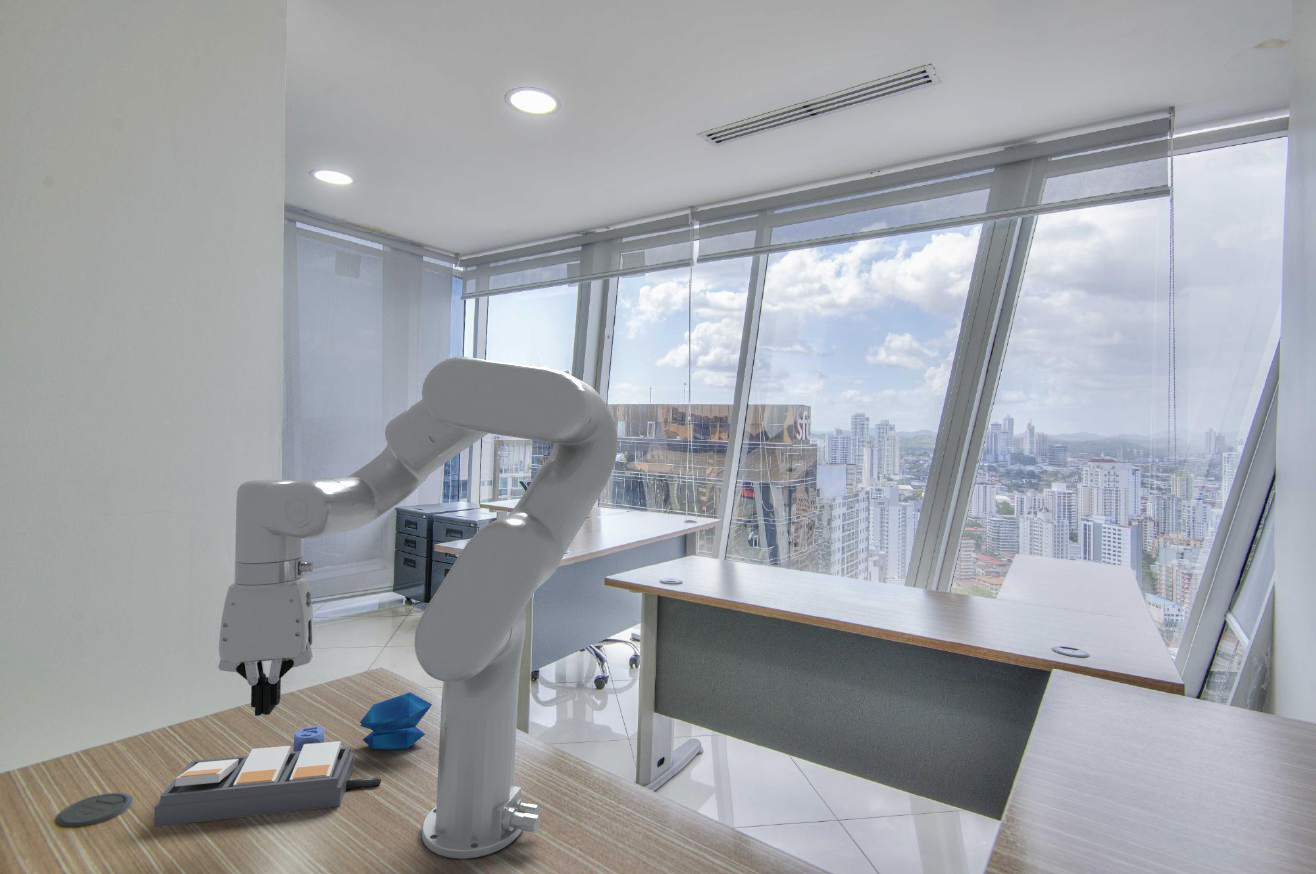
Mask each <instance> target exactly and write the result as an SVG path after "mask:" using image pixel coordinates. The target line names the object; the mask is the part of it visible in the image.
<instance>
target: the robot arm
mask: <svg viewBox="0 0 1316 874" xmlns="http://www.w3.org/2000/svg"><path fill="white" fill-rule="evenodd" d="M421 389H422V390H421V398H422V399H420V400H419V401H417V402H416V403H414V404H413V405H411V406H410V407H408V408H407V409H406V410H404V411H403V412H401V413H400V414H399V415H397V416H395V417H394V418H392V419H391V420H390V421H389V422H387V425H386V426H385V429H384V435H385V441H386V446H385V448H384V449H383V450H382V451H381V452H380V453H379V454H378V455H377V456H376V457H375V458H373V459H372V460H370V461H369V462H368V463H366V464H365V465H364V466H362V467H361V468H359V469H358V470H356V471H355V472H354V473H351V474H350V475H348V476H346V477H345V476H344V477H334V478H333V477H330V478H322V479H321V478H320V479H310V480H302V481H295V480H291V479H290V480H289V479H256V480H255V479H254V480H248V481H245V482H242V483H241V484H240V485H239V486H238V489H237V491H236V501H235V502H236V503H235V504H236V508H235V509H236V510H235V512H236V513H235V518H236V519H235V547H234V551H235V552H234V582H233V583H231V584H230V585H229V586H228V589H227V591H226V596H225V601H224V604H223V605H224V606H223V610H222V616H221V620H220V621H221V622H220V623H221V624H220V628H219V629H220V630H219V631H220V632H219V643H218V644H219V645H218V655H219V659H220V660H219V663H218V666H217V667H218V670H219V671H221V672H230V673H231V672H232V673H237V674H239V675H240V676H241V677H242V678H243V679H245V680H246V681H247V684H248V685H249V686H251V687H250V689H251V692H250V697H251V698H250V707H251V708H254V716H255V717H259V716H261V715H264V716H269V715H271V713H272V712H273V710H275V708H276V706H278V705H279V704H280V701H281V692H282V691H281V689H282V688H281V687H282V685H281V681H282V680H281V679H282V677H283V676H285V675H286V674H287V673H288V672H289V671H290V670H291V669H294V668H297V667H301V666H304V665H307V664H309V663H311V661H312V659H313V658H314V657H313V655H314V654H313V652H312V647H311V646H312V644H313V642H314V617H313V616H314V613H313V603H312V602H313V601H312V593H311V588H310V583H309V580H308V578H307V577H305V578H304V577H302V576H303V575H304V574H307V573H312V572H313V571H314V563H313V561H309V562H308V561H305V559H304V556H302V554H303V553H302V552H303V550H302V548H303V546H302V545H303V539H305V540H306V539H307V540H309V539H320V538H324V537H329V536H332V535H336V534H339V533H345V532H348V531H353V530H357V529H360V528H363V527H366V526H367V525H369V524H371V523H372V522H375V520H377V519H379V518H380V517H382V516H383V515H384V514H386V513H387V512H389V511H390V510H392V509H393V508H395V507H396V506H398V505H399V504H401V503H402V502H403V501H404V500H406V499H407V498H408V497H410V496H411V495H412V494H413V493H414V492H415V491H416V490H417V489H418V488H419V487H420V486H421V485H422V484H424V482H425V481H426V480H427V479H428V477H429V476H430V475H431V474H432V473H433V472H435V471H436V470H437V469H439V468H441V467H442V466H444V464H446V463H448V462H449V461H450V460H452V459H454V458H455V457H456V456H458V455H459V454H460V453H462V452H463V451H466V450H467V449H469V448H470V447H471V446H472V445H473V444H475V443H476V442H478V441H480V440H481V439H483V438H484V437H485V436H487V435H488V434H492V435H497V436H505V437H511V438H512V437H513V438H518V439H523V440H530V441H536V442H543V443H550V444H553V445H552V446H553V447H552V449H551V452H550V454H549V456H548V457H547V458H546V460H545V462H543V464H542V465H541V466H540V468H539V469H538V470H537V472H536V474H534V477H532V480H531V482H530V483H529V486H528V487H527V488H526V490H525V491H524V493H523V495H521V497H520V499H519V501H518V502H517V504H516V505H515V506H514V507H513V509H512V510H511V511H510V512H509V513H508V514H507V515H505V516H503V517H501V518H498V519H496V520H492V521H491V522H489V523H487V524H485V525H484V526H483V527H481V528H480V529H479V530H478V531H477V532H476V533H475V534H474V535H473V536H472V538H471V539H470V540H468V542H467V543H466V544H465V546H464V547H463V548H462V550H461V552H460V553H459V555H458V556H457V558H456V560H455V562H454V563H453V565H452V567H451V568H450V570H449V571H448V572H447V574H446V575H445V577H444V579H443V580H442V582H441V584H440V585H439V586H438V589H437V590H436V592H435V593H434V594H433V597H432V598H431V599H430V600H429V602H428V604H427V605H426V607H425V609H424V611H423V613H422V615H421V616H420V618H419V619H418V622H417V626H416V629H415V632H414V644H413V645H414V650H415V651H414V652H415V656H416V659H417V661H418V664H419V665H420V667H421V669H423V671H424V672H425V674H427V675H428V676H430V677H431V678H433V679H435V680H438V681H441V682H442V691H441V707H440V722H439V723H440V727H439V745H438V746H439V748H438V766H437V767H438V769H437V784H436V785H437V786H436V787H437V789H436V806H435V807H433V808H432V809H431V810H430V811H429V812H428V814H427V815H426V816H425V818H424V820H423V822H422V826H421V827H422V828H421V838H422V842H423V843H424V845H425V847H427V849H429V850H430V851H431V852H433V853H435V854H436V855H439V856H442V857H445V858H451V859H473V858H480V857H484V856H488V855H491V854H493V853H496V852H498V851H500V850H502V849H505V848H506V847H507V846H509V845H510V844H511V843H512V842H514V841H515V839H517V838H518V837H519V836H520V834H521V833H522V831H524V832H529V833H534V834H537V833H538V831H539V828H540V826H541V821H542V820H541V815H540V814H539V811H540V805H539V804H537V803H532V802H530V803H528V802H524V800H523V799H521V798H522V797H521V796H522V795H521V794H522V787H521V786H516V785H515V770H516V769H515V768H516V765H515V764H516V748H517V746H516V744H517V743H516V742H517V726H518V725H517V724H518V706H519V691H520V690H519V688H520V673H521V665H522V664H521V662H522V657H523V656H522V655H523V649H524V642H525V635H526V629H527V627H526V626H527V625H526V624H527V613H526V612H527V611H526V606H527V604H528V603H529V602H530V599H531V598H532V597H533V595H534V593H535V592H536V591H537V590H538V588H539V587H541V586H542V585H543V584H544V583H545V582H547V581H548V580H549V579H550V578H551V577H552V576H553V575H554V574H555V573H556V572H557V569H558V567H559V566H560V564H561V562H562V560H563V558H564V556H565V554H566V552H567V551H568V549H569V547H570V545H571V544H572V543H573V541H574V539H575V537H576V536H577V535H578V533H579V531H580V529H581V528H582V527H583V525H584V523H585V522H586V520H587V517H588V516H589V515H590V513H591V511H592V510H593V508H594V506H595V504H596V503H597V501H598V499H599V497H600V496H601V495H602V492H603V490H604V489H605V487H606V486H607V483H608V481H609V479H610V477H611V475H612V472H613V470H614V467H615V463H616V459H617V454H618V430H617V427H616V423H615V420H614V418H613V415H612V413H611V411H610V409H609V407H608V406H607V404H606V402H605V400H604V399H603V398H602V396H601V395H600V394H599V393H598V392H597V390H595V389H594V388H593V387H592V386H591V385H589V384H587V383H586V382H585V381H583V380H581V379H579V378H577V377H575V376H573V375H572V374H569V373H567V372H564V371H560V370H557V369H552V368H544V367H539V366H538V367H537V366H530V365H522V364H518V363H517V364H516V363H509V362H508V363H507V362H500V361H492V360H488V359H487V360H486V359H481V358H475V357H470V356H455V357H450V358H447V359H445V360H442V361H441V362H439V363H437V364H436V365H434V366H433V367H432V369H431V370H430V371H429V372H428V374H427V375H426V377H425V378H424V382H423V383H422V388H421ZM267 661H270V662H271V663H270V667H269V673H268V676H267V674H266V671H265V665H264V662H267Z"/></svg>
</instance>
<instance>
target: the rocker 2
mask: <svg viewBox="0 0 1316 874" xmlns="http://www.w3.org/2000/svg"><path fill="white" fill-rule="evenodd" d="M340 748H342V740H341V741H340V740H339V741H337V740H336V741H326V742H325V741H324V743H313V744H304V745H303V748H302V750H301V753H300V755H299V758H298V760H297V763H296V765H295V767H294V770H293V772H292V775H291V777H290V780H289V781H298V780H308V779H318V778H328V777H331V776H332V773H333V770H334V767H335V764H336V761H337V758H338V754H339V751H340Z"/></svg>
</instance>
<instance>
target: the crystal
mask: <svg viewBox="0 0 1316 874" xmlns="http://www.w3.org/2000/svg"><path fill="white" fill-rule="evenodd" d="M432 706H433V704H432V703H431V702H429V701H428V700H426V699H424V698H423V697H420V696H418V695H417V694H415V693H413V692H412V691H410V692H406V693H404V694H400V695H398V696H395V697H392V698H388V699H386V700H383V701H380V702H377V703H374V704H373V705H372V706H371V707H370V708H369V709H368V711H367V712H366V714H365V715H364V716H363V718H362V719H361V720H360V721H359V724H360V727H362V728H365V729H368V730H370V731H371V732H370V733H368V735H366V736H365V737H364V738H363V739H362V741H363V742H364V743H365V744H366V745H368V747H370V748H371V749H372V750H373V749H375V751H376V749H380V750H381V749H385V750H408V749H409V748H411V747H412V746H413V745H414V744H416V743H417V742H418V741H419V740H420V739H421V738H423V737H424V736H425V735H426V733H425V732H423V731H422V730H421V729H419V728H418V727H417V725H418V724H419V722H421V720H423V717H424V716H425V715H426V714H427V712H428V711H429V710H430V709H431V707H432ZM381 751H382V750H381Z"/></svg>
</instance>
